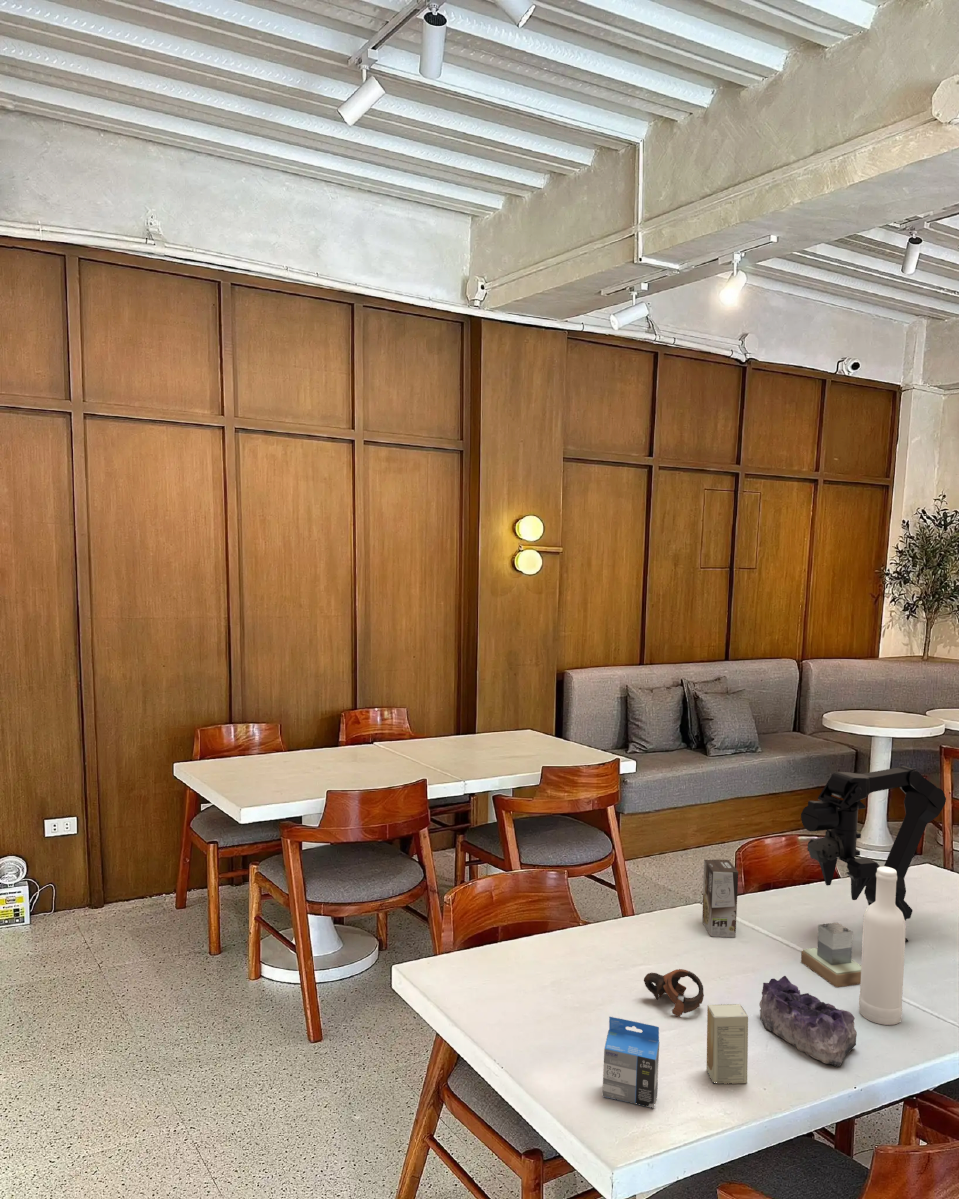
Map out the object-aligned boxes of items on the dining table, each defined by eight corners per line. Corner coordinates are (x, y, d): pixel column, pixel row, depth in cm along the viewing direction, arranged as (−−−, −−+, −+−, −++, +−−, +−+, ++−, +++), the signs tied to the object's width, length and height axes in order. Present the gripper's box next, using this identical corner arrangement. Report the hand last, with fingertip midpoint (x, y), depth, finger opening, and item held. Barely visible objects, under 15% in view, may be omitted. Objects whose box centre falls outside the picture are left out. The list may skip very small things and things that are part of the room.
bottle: (883, 1029, 173) (890, 878, 171) (849, 1010, 180) (856, 865, 178) (910, 1020, 176) (917, 872, 175) (876, 1002, 183) (883, 860, 182)
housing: (817, 955, 198) (818, 923, 197) (836, 952, 199) (837, 921, 199) (831, 965, 193) (833, 932, 193) (851, 962, 194) (852, 930, 194)
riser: (830, 958, 203) (831, 945, 203) (867, 983, 192) (868, 969, 191) (801, 962, 201) (801, 949, 201) (836, 987, 189) (836, 973, 189)
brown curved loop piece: (696, 996, 185) (708, 972, 181) (693, 1036, 178) (705, 1012, 173) (641, 976, 187) (651, 952, 183) (635, 1015, 179) (646, 991, 175)
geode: (738, 1025, 174) (743, 973, 174) (775, 1016, 180) (780, 966, 181) (830, 1072, 157) (835, 1015, 157) (868, 1061, 163) (872, 1006, 164)
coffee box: (736, 937, 213) (739, 872, 212) (710, 937, 213) (712, 871, 212) (727, 922, 222) (729, 858, 221) (701, 921, 222) (703, 858, 221)
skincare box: (739, 1069, 158) (742, 1003, 157) (747, 1084, 154) (750, 1016, 153) (704, 1069, 158) (706, 1003, 157) (711, 1084, 154) (713, 1016, 153)
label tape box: (601, 1097, 149) (603, 1026, 149) (606, 1084, 153) (608, 1015, 152) (653, 1110, 146) (656, 1038, 145) (658, 1096, 150) (660, 1025, 149)
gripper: (789, 817, 215) (787, 880, 215) (841, 842, 197) (838, 911, 198) (828, 815, 218) (826, 877, 219) (883, 839, 200) (879, 906, 201)
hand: (840, 892), depth 209 cm, fingers open, 9 cm apart
